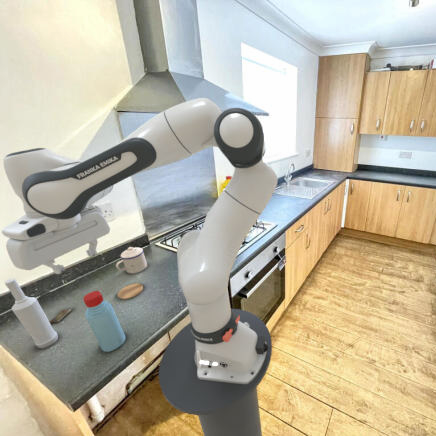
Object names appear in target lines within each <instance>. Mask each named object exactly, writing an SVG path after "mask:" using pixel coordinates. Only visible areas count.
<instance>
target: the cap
mask: <svg viewBox="0 0 436 436" xmlns="http://www.w3.org/2000/svg"><path fill="white" fill-rule="evenodd" d="M103 300H104V297H103V295H102V293H101V291H100V290H93V291H91V292H88V293H87V294H85V295H84V296H83V303H84V304H85V307H86V308H88V307H95V306H97V305H99V304H101V303H102V302H103Z"/></svg>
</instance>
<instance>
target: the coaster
mask: <svg viewBox="0 0 436 436" xmlns="http://www.w3.org/2000/svg"><path fill="white" fill-rule="evenodd" d="M143 290H144V286H143V284H141V283H139V282H137V283H131V284H128V285H125V286H124V287H122V288H121V289H120V290H119V291H118V292H117V298H118V299H119V300H129V299H132V298H135V297H137V296H138V295H140V294H141V293H142V292H143Z"/></svg>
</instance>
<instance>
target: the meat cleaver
mask: <svg viewBox="0 0 436 436" xmlns="http://www.w3.org/2000/svg"><path fill="white" fill-rule="evenodd" d="M71 311H73V309H72V308H68V309H62V310H60V312H59V313H58V314H57V315H55V317H53V318H52V319H51V320H48V321H49V322H50V324H51V325H52V324H53V323H60V321H61V320H62V319H63V318H64V317H66V316H67V315H68V314H69V313H70V312H71Z"/></svg>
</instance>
